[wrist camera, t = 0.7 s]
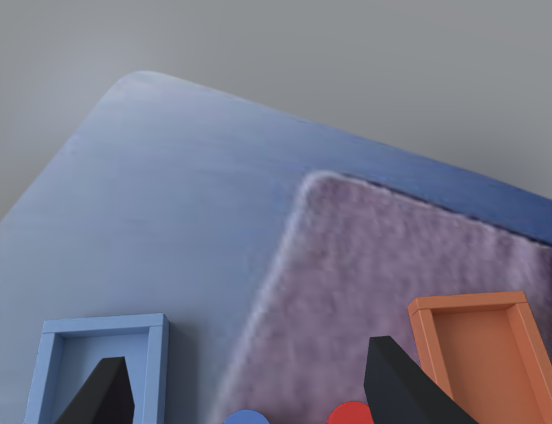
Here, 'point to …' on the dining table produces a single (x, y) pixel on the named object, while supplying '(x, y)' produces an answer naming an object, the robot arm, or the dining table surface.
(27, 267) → the dining table surface
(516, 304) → the terracotta tray
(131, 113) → the dining table surface
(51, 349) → the blue tray
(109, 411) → the robot arm
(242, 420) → the blue spoon
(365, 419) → the red spoon
